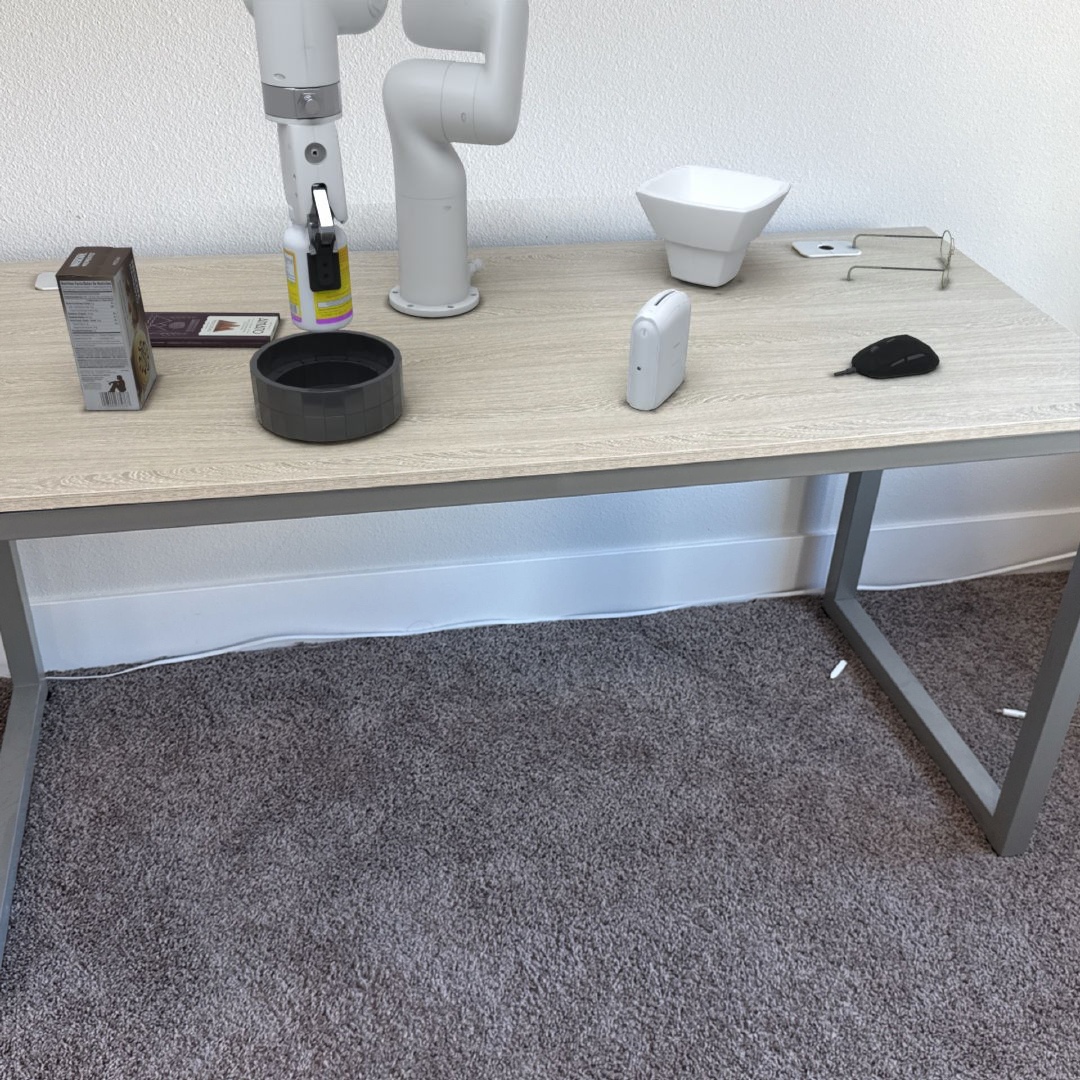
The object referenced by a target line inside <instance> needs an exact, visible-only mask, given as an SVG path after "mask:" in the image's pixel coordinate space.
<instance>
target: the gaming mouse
mask: <svg viewBox="0 0 1080 1080" xmlns="http://www.w3.org/2000/svg"><path fill="white" fill-rule="evenodd" d="M940 362H941V361H940V357H939V356H938V354H937V352H935V351H934V349H933V348H932V347H931V346H930V345H929V344H927V343H925V342H924V341H922V340H920V339H919V338H917V337H915V336H912V335H910V334H907V333H906V334H905V333H904V334H897V335H892V336H888V337H884V338H882V339H880V340H877V341H874V342H873V343H870V344H868V345H867V346H865V347H864V348H862V349H860V350H858V351H857V352H856V353H855V354H854V355H853V356H852V357H851V361H850V364H851V366H852V367H848V368H846V369H843V370H840V371H836V372H834V373H833V376H834V377H836V376H840V375H845V374H853V373H855V372H858V373H860V374H862V375H865V376H868V377H871V378H877V379H884V378H892V377H893V378H894V377H902V376H911V375H919V374H925V373H927V372H929V371H932V370H934V369H937V367H938V366H939V365H940Z"/></svg>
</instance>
